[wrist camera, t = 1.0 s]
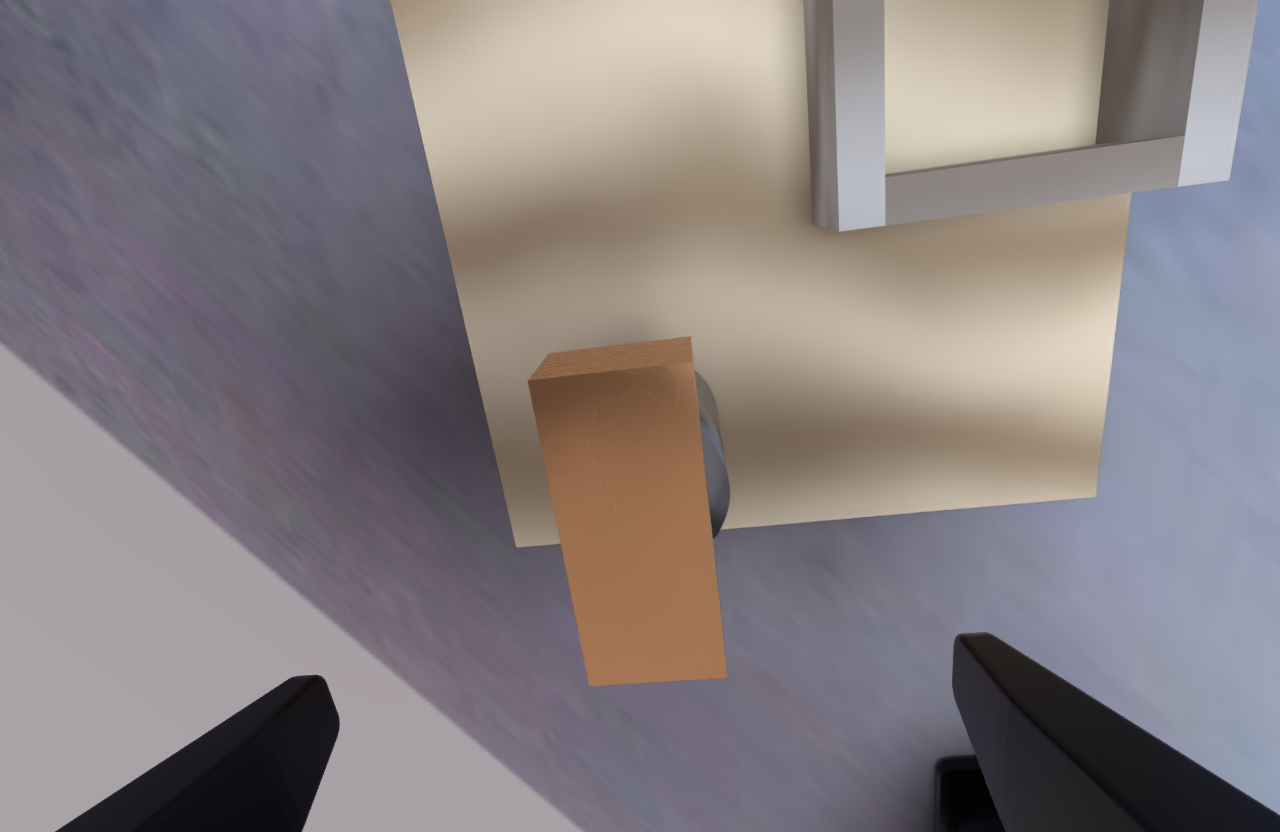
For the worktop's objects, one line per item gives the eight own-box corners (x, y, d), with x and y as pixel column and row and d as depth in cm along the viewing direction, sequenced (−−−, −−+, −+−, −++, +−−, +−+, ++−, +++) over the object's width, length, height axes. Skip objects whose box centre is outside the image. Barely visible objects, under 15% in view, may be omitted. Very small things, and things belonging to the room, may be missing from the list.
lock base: (1083, 487, 20) (1167, 551, 16) (520, 537, 21) (490, 604, 18) (1166, -260, 14) (1326, -407, 10) (375, -103, 15) (290, -183, 12)
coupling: (727, 514, 20) (751, 676, 13) (603, 526, 20) (567, 687, 14) (705, 293, 18) (720, 358, 11) (566, 311, 18) (501, 383, 12)
